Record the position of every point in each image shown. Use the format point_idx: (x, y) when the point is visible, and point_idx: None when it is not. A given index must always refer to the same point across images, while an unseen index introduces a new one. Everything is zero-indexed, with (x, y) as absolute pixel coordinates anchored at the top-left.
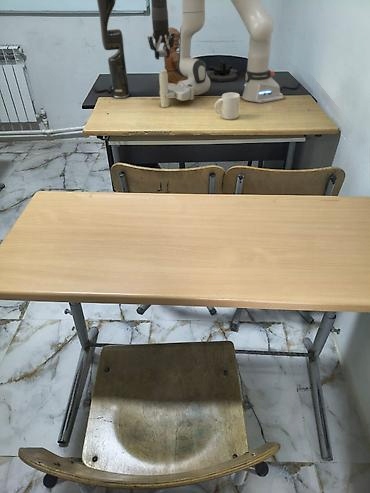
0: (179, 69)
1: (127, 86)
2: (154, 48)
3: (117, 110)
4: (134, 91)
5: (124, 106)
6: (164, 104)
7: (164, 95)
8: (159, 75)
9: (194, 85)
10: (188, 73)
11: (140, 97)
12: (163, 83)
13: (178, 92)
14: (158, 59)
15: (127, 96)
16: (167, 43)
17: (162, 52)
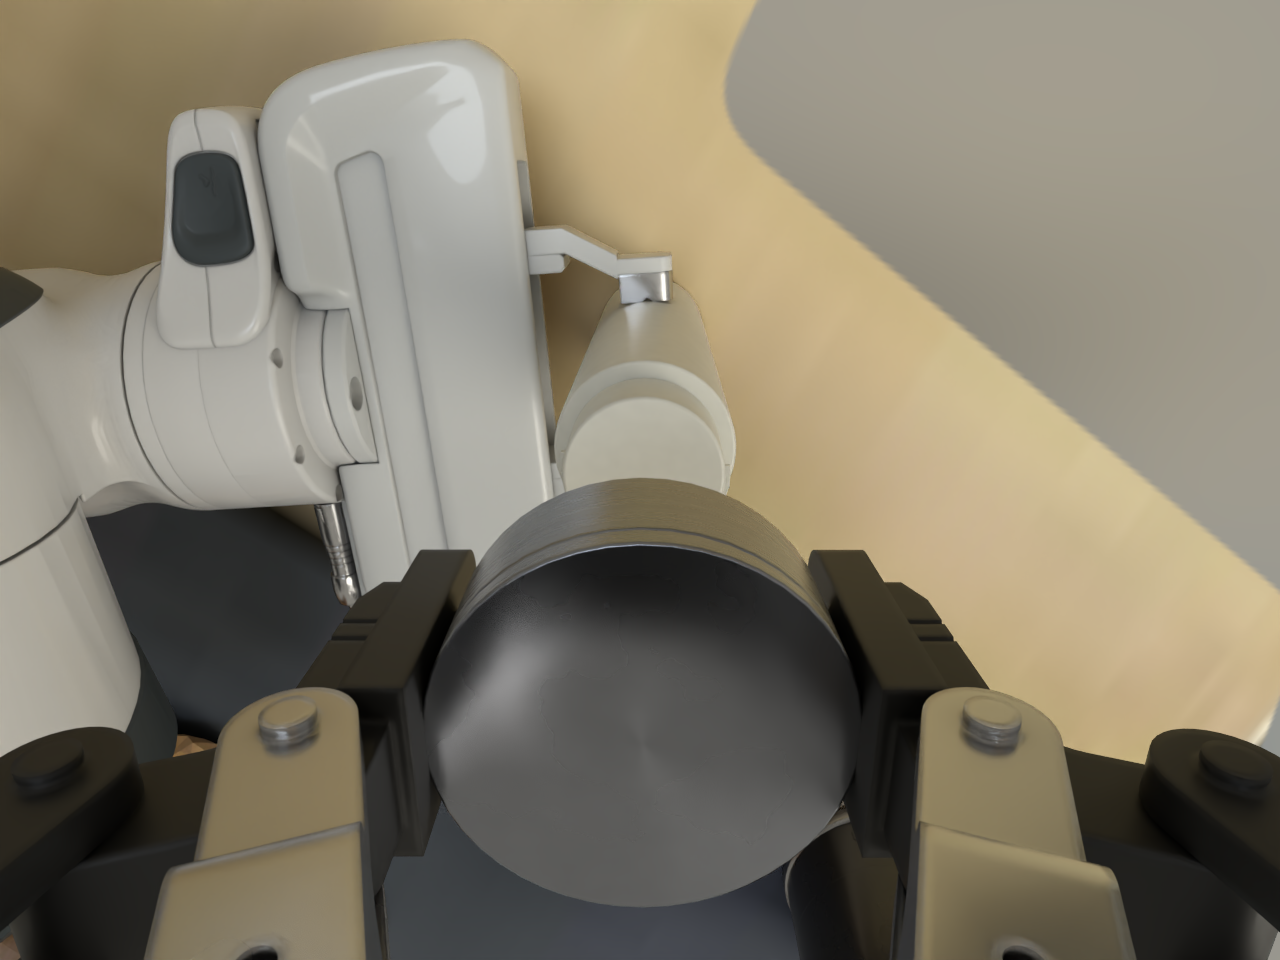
0: (136, 728)
1: (841, 906)
2: (1210, 788)
3: (1162, 528)
4: (685, 911)
5: (1027, 594)
6: (680, 291)
7: (679, 304)
8: (732, 459)
9: (104, 292)
10: (54, 479)
11: None
12: (690, 342)
13: (499, 139)
14: (833, 553)
15: (841, 813)
16: (291, 868)
17: (736, 573)
